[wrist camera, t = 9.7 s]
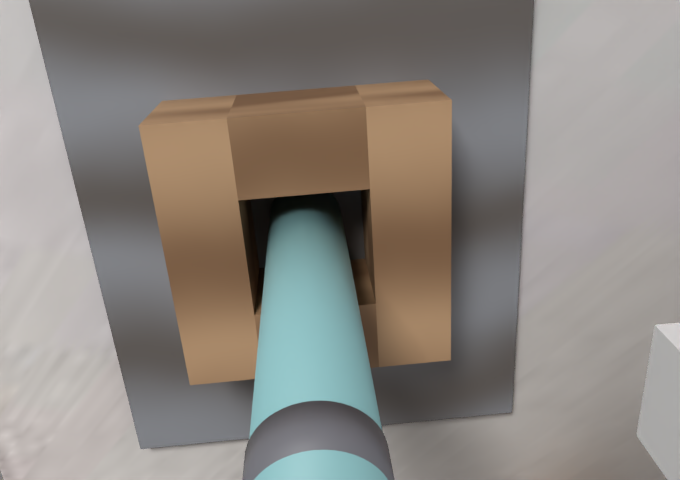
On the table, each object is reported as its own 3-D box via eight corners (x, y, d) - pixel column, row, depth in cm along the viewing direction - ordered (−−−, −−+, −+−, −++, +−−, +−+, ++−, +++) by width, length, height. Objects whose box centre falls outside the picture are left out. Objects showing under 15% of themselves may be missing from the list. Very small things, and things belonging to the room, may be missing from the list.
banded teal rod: (264, 184, 23) (220, 526, 9) (340, 178, 23) (410, 507, 9) (272, 253, 24) (244, 651, 10) (344, 247, 24) (413, 632, 10)
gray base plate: (18, -74, 19) (-48, -82, 16) (532, -111, 20) (588, -127, 16) (143, 439, 28) (120, 514, 24) (507, 403, 28) (540, 471, 24)
